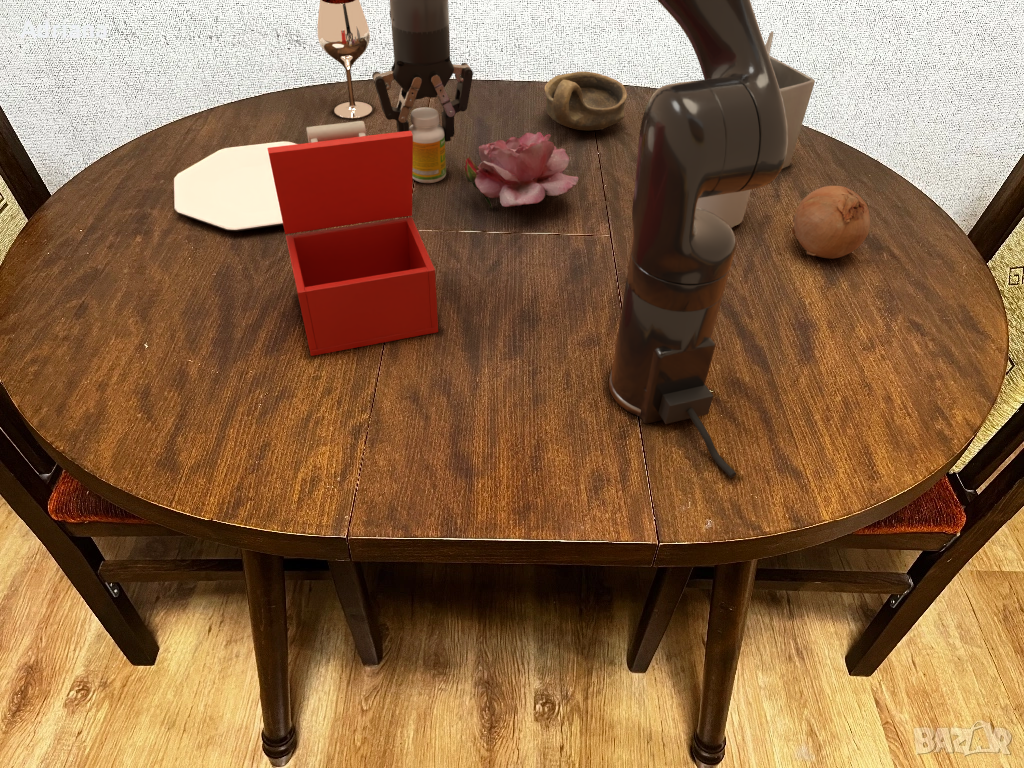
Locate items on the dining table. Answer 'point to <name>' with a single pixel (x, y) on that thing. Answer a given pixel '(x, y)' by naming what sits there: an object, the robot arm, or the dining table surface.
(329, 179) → the red box lid
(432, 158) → the supplement bottle
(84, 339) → the dining table surface
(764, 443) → the dining table surface
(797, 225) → the onion
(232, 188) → the plate
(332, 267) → the red box
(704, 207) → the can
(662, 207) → the robot arm
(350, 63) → the wineglass
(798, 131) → the planter
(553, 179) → the flower
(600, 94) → the bowl
